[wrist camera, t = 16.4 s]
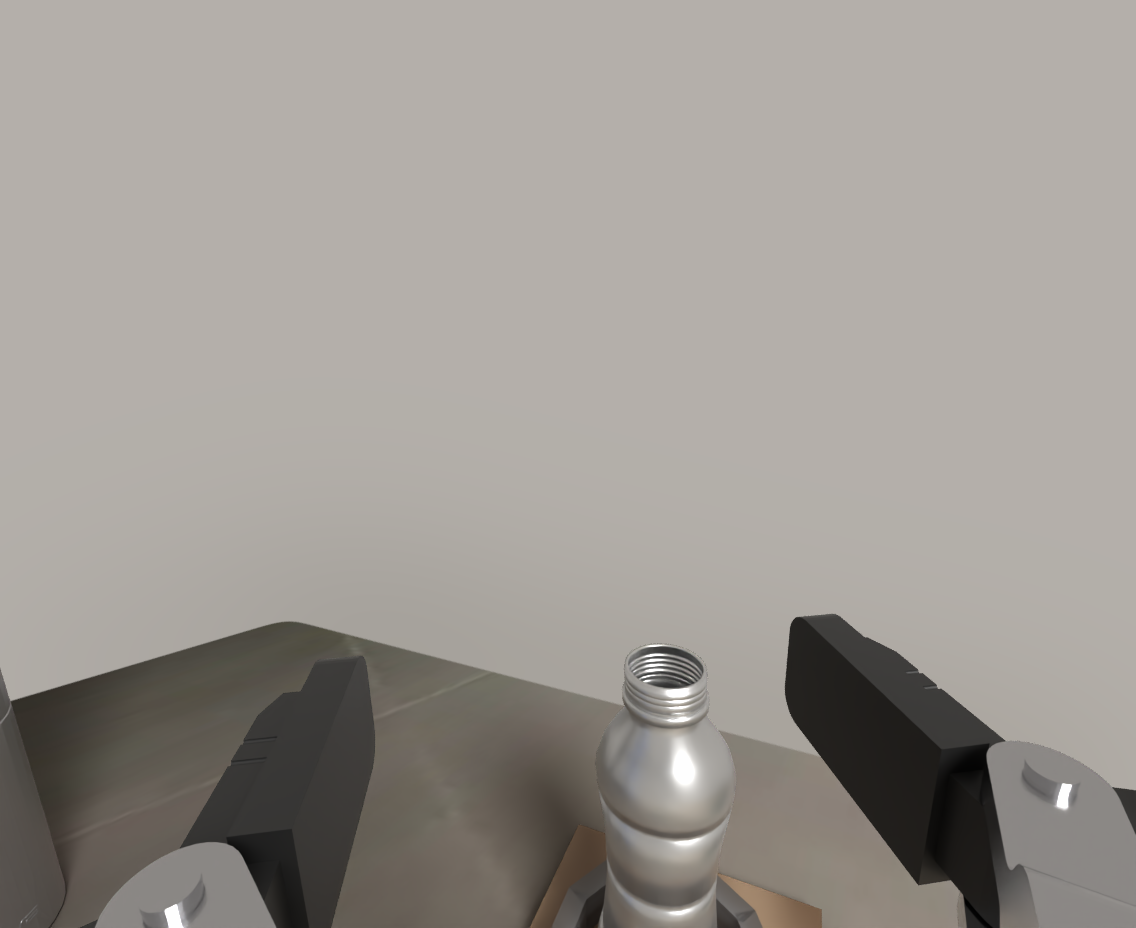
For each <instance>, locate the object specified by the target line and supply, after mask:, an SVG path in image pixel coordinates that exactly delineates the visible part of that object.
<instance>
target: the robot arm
mask: <svg viewBox="0 0 1136 928" xmlns="http://www.w3.org/2000/svg"><path fill="white" fill-rule="evenodd" d="M785 696H786V702H787V705H788V709H789V712H790V714H791V716H792V718H793V720H794V722H795V723H796V724H797V726H798V727H799V729H800V730H801V731H802V733H803V734H804V735H805V736H806V738H807V739H808V740H809V742H810V743H811V744H812V746H813V747H814V748H815V750H816V751H817V752H818V754H819V755H820V756H821V758H822V759H823V760H824V761H825V763H826V764H827V765H828V767H829V768H830V769H831V771H832V772H833V773H834V775H835V776H836V777H837V779H838V780H839V781H840V783H841V784H842V785H843V787H844V788H845V789H846V790H847V792H848V793H849V794H850V796H851V797H852V798H853V800H854V801H855V802H856V804H857V805H858V806H859V808H860V809H861V810H862V812H863V813H864V814H865V816H866V817H867V818H868V819H869V821H870V822H871V823H872V825H873V826H874V827H875V829H876V830H877V831H878V833H879V834H880V835H881V837H882V838H883V839H884V841H885V842H886V843H887V845H888V846H889V847H890V848H891V850H892V851H893V852H894V854H895V855H896V856H897V858H898V859H899V860H900V862H901V863H902V864H903V866H904V867H905V868H906V870H907V871H908V872H909V873H910V875H911V876H912V877H913V879H914V880H915V881H916V883H917V884H918V885H923V884H929V883H936V882H942V881H948V880H951V881H952V882H953V883H954V884H955V886H956V887H957V888H958V889H959V890H960V894H959V899H958V904H957V918H958V928H1136V790H1129V789H1121V788H1114V787H1111V786H1110V785H1109V784H1108V783H1107V782H1106V781H1105V780H1104V779H1103V778H1102V777H1101V776H1100V775H1098V774H1097V773H1096V772H1094V771H1093V770H1092V769H1090V768H1089V767H1087V766H1085V765H1084V764H1082V763H1081V762H1079V761H1077V760H1075V759H1073V758H1071V757H1069V756H1067V755H1065V754H1063V753H1061V752H1058V751H1055V750H1053V749H1050V748H1047V747H1044V746H1041V745H1037V744H1033V743H1028V742H1020V741H1005V740H1004V739H1003V738H1001V737H1000V736H999V735H998V734H996V733H995V732H994V731H993V730H991V729H990V728H989V727H988V726H987V725H985V724H984V723H983V722H982V721H980V720H979V719H978V718H977V717H976V716H974V715H973V714H972V713H971V712H969V711H968V710H967V709H966V708H964V707H963V706H962V705H961V704H960V703H958V702H957V701H956V700H955V699H954V698H952V697H951V696H950V695H948V694H947V693H946V692H945V691H944V690H942V689H938V688H937V685H936V684H935V683H934V682H933V681H931V680H930V679H929V678H928V677H926V676H925V675H924V674H923V673H920V674H919V672H918V669H917V668H915V667H914V666H913V665H911V663H909V662H908V661H907V660H906V659H904V658H903V657H902V656H901V655H900V654H898V653H897V652H895V651H894V650H892V649H889V648H887V647H885V646H884V645H882V644H880V643H878V642H876V641H873V640H871V639H869V638H865V637H863V636H862V635H861V634H860V633H859V632H858V631H856V630H855V629H854V628H853V627H852V626H850V625H849V624H848V623H847V622H846V621H845V620H843V619H842V618H841V617H840V616H838V615H836V614H826V615H815V616H804V617H796V618H795V619H794V620H793V621H792V623H791V626H790V634H789V646H788V658H787V669H786V681H785ZM374 754H375V730H374V721H373V713H372V705H371V697H370V689H369V681H368V673H367V666H366V662H365V659H364V657H363V656H354V657H343V658H332V659H321V660H317V662H316V663H315V664H314V666H313V668H312V670H311V672H310V674H309V676H308V678H307V680H306V682H305V684H304V686H303V688H302V690H301V691H300V692H290V693H283V694H282V695H281V696H280V697H278V698H277V699H276V700H275V701H274V702H273V703H272V704H270V705H269V706H268V707H267V708H266V709H265V710H263V711H262V712H261V713H260V714H259V715H258V716H257V718H256V720H255V721H254V723H253V725H252V726H251V728H250V730H249V732H248V733H247V735H246V737H245V738H244V743H243V745H240V747H239V749H238V750H237V752H236V754H235V755H234V757H233V759H232V760H231V766H228V767H227V769H226V771H225V772H224V774H223V776H222V777H221V779H220V781H219V783H218V784H217V786H216V788H215V789H214V791H213V793H212V794H211V796H210V798H209V800H208V801H207V803H206V805H205V806H204V808H203V810H202V811H201V813H200V815H199V817H198V818H197V820H196V822H195V823H194V825H193V827H192V828H191V830H190V832H189V834H188V835H187V837H186V839H185V840H184V842H183V844H182V845H181V847H180V849H179V850H176V851H173V852H171V853H169V854H167V855H165V856H163V857H161V858H159V859H158V860H156V861H154V862H153V863H151V864H150V865H148V866H147V867H145V868H144V869H142V870H141V871H140V872H138V873H137V874H136V875H135V876H133V877H132V878H131V879H130V880H129V881H128V882H126V883H125V884H124V885H123V886H122V887H121V888H120V890H119V891H118V892H117V893H116V894H115V895H114V896H113V897H112V899H111V900H110V901H109V902H108V904H107V905H106V907H105V908H104V910H103V912H102V913H101V915H100V917H99V919H98V920H96V921H94V922H92V923H89V924H87V925H85V926H83V927H80V928H331V925H332V921H333V918H334V914H335V910H336V906H337V902H338V899H339V895H340V891H341V887H342V883H343V879H344V876H345V872H346V868H347V864H348V860H349V857H350V853H351V849H352V845H353V841H354V838H355V834H356V830H357V826H358V822H359V819H360V815H361V811H362V807H363V803H364V799H365V796H366V792H367V788H368V784H369V780H370V777H371V773H372V769H373V763H374ZM65 894H66V890H65V881H64V878H63V875H62V871H61V868H60V865H59V861H58V858H57V855H56V851H55V848H54V845H53V841H52V837H51V833H50V830H49V827H48V823H47V820H46V817H45V814H44V810H43V807H42V804H41V800H40V797H39V794H38V791H37V787H36V784H35V781H34V777H33V774H32V771H31V767H30V764H29V761H28V758H27V754H26V751H25V748H24V744H23V741H22V738H21V735H20V731H19V728H18V725H17V721H16V718H15V715H14V712H13V708H12V705H11V702H10V699H9V696H8V693H7V690H6V686H5V683H4V680H3V676H2V673H1V670H0V928H49V927H50V925H51V924H52V923H53V921H54V920H55V918H56V916H57V914H58V912H59V911H60V909H61V907H62V905H63V901H64V897H65Z"/></svg>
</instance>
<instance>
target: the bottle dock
mask: <svg viewBox="0 0 1136 928" xmlns="http://www.w3.org/2000/svg"><path fill="white" fill-rule="evenodd" d="M606 878H607V852H606V838H605V833H602V832H600V831H597V830H594V829H591V828H588V827H585V826H582V825H580V824H579V825H578V827H577V829H576V831H575V833H574V836H573V838H572V840H571V842H570V844H569V846H568V848H567V850H566V852H565V855H564V857H563V859H562V861H561V863H560V865H559V867H558V869H557V871H556V873H555V876H554V878H553V880H552V882H551V884H550V886H549V888H548V890H547V892H546V894H545V897H544V899H543V901H542V903H541V905H540V907H539V909H538V911H537V913H536V916H535V918H534V920H533V922H532V924H531V926H530V928H598V923H599V920H600V916H601V912H602V909H603V906H604V897H605V888H606ZM716 911H717V928H822V910H821V909H819V908H816V907H813V906H810V905H807V904H804V903H802V902H799V901H796V900H793V899H790V898H787V897H784V896H782V895H779V894H776V893H773V892H770V891H767V890H765V889H762V888H759V887H756V886H753V885H750V884H747V883H745V882H742V881H739V880H736V879H733V878H730V877H728V876H725V875H722V874H719V873H718V874H717V884H716Z"/></svg>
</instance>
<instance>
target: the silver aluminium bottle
mask: <svg viewBox="0 0 1136 928" xmlns="http://www.w3.org/2000/svg"><path fill="white" fill-rule="evenodd" d="M624 675H625V677H624V678H625V681H624V684H623V692H622V693H623V702H624V705H625V707H624V708H622V709H621V710H620V711H619V712H618V714H617V715H616V716H615V717H614V719H613V720H612V721H611V723H610V724H609V725H608V727H607V728H606V729H605V731H604V733H603V736H602V739H601V742H600V744H599V747H598V750H597V753H596V763H595V764H596V776H597V783H598V789H599V794H600V800H601V806H602V812H603V818H604V824H605V838H606V852H607V878H606V888H605V897H604V906H603V909H602V912H601V916H600V920H599V923H598V928H717V911H716V884H717V874H718V869H719V861H720V853H721V847H722V844H723V840H724V836H725V832H726V828H727V825H728V821H729V817H730V813H731V809H732V805H733V803H734V796H735V790H736V772H735V768H734V764H733V760H732V756H731V753H730V750H729V748H728V746H727V744H726V741H725V740H724V738H723V737H722V736H721V734H720V733H719V731H718V730H717V728H716V727H715V725H714V724H713V723H712V721H711V720H710V719H709V718H708V717H707V713H708V709H709V694H708V691H707V677H708V674H707V669H706V665H705V664H704V662H703V660H702V659H701V658H700V657H699V656H697V655H696V654H695V653H693V652H691V651H690V650H687V649H684V648H682V647H679V646H675V645H669V644H649V645H644V646H641V647H638V648H636V649H634V650H633V651H632V652H630V653H629V655H628V656H627V657H626V660H625V665H624Z"/></svg>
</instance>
